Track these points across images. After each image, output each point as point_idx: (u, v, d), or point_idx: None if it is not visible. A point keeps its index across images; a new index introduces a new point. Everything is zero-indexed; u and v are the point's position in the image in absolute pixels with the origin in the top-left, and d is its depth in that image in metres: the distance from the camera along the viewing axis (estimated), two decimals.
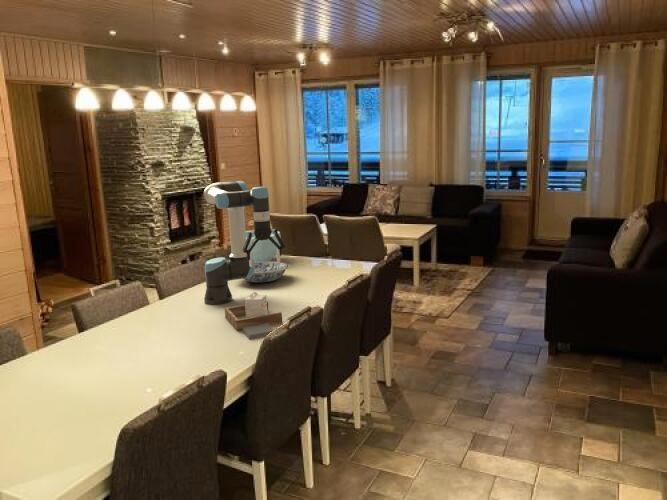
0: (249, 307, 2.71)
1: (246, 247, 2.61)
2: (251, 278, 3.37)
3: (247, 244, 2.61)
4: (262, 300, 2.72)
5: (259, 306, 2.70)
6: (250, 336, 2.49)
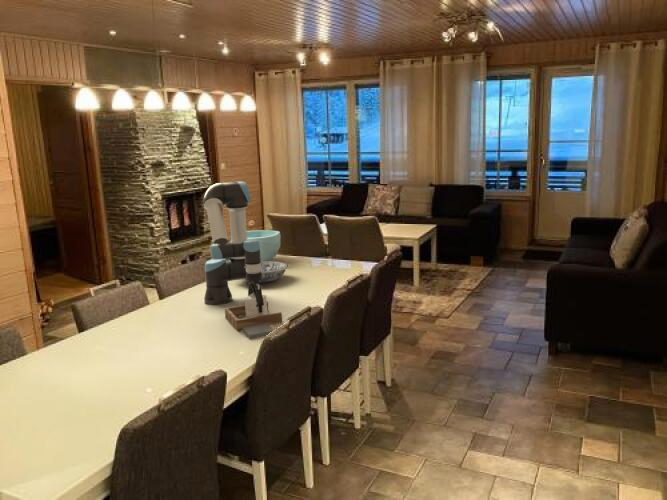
0: (249, 307, 2.71)
1: (248, 292, 2.81)
2: None
3: (248, 290, 2.80)
4: None
5: None
6: (250, 336, 2.49)
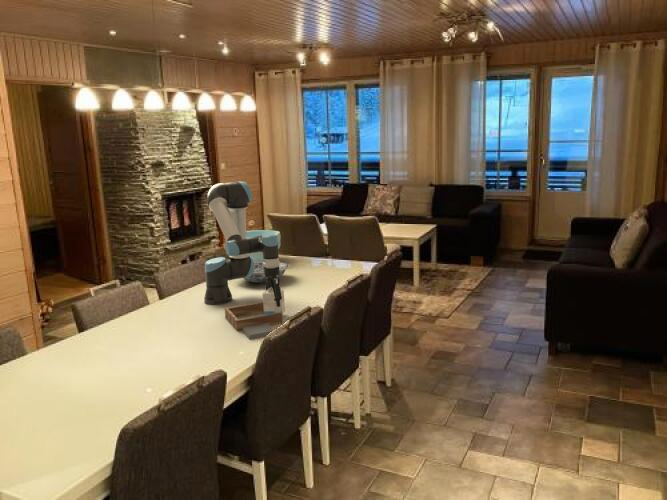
0: (267, 301, 2.74)
1: None
2: (251, 278, 3.37)
3: (266, 284, 2.83)
4: None
5: None
6: (250, 336, 2.49)
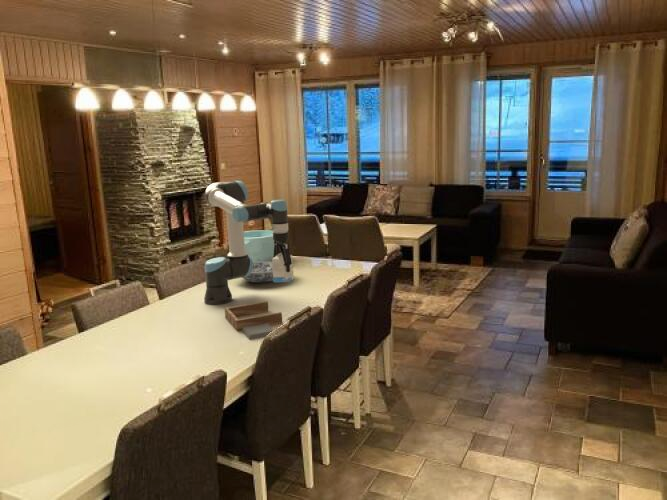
0: (277, 267, 2.73)
1: None
2: (251, 278, 3.37)
3: (274, 251, 2.82)
4: None
5: None
6: (250, 336, 2.49)
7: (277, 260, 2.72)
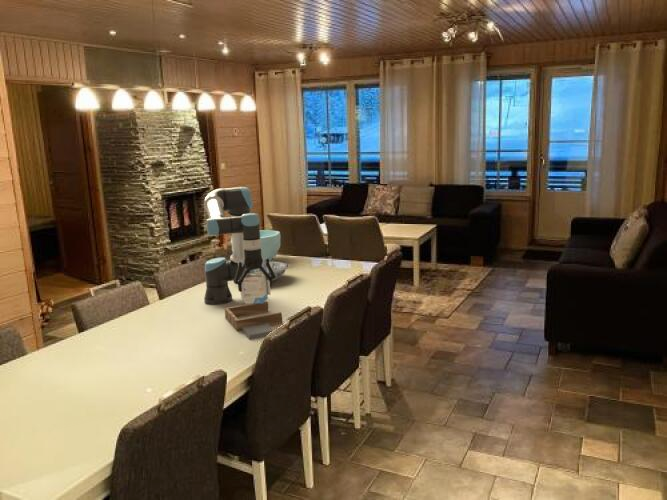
0: (263, 285, 2.50)
1: (237, 278, 2.47)
2: None
3: (238, 275, 2.47)
4: None
5: (266, 281, 2.55)
6: (250, 336, 2.49)
7: (262, 278, 2.50)
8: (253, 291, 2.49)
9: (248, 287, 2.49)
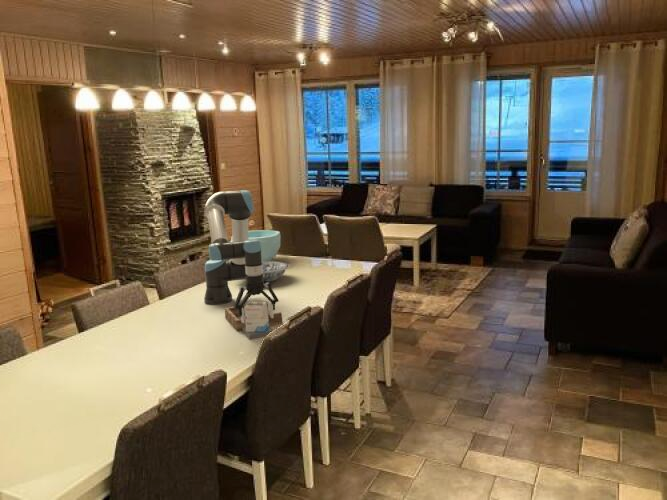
0: (264, 314, 2.53)
1: (238, 303, 2.49)
2: None
3: (239, 300, 2.50)
4: None
5: (267, 309, 2.57)
6: (250, 336, 2.49)
7: (263, 306, 2.52)
8: (255, 320, 2.52)
9: (250, 316, 2.52)
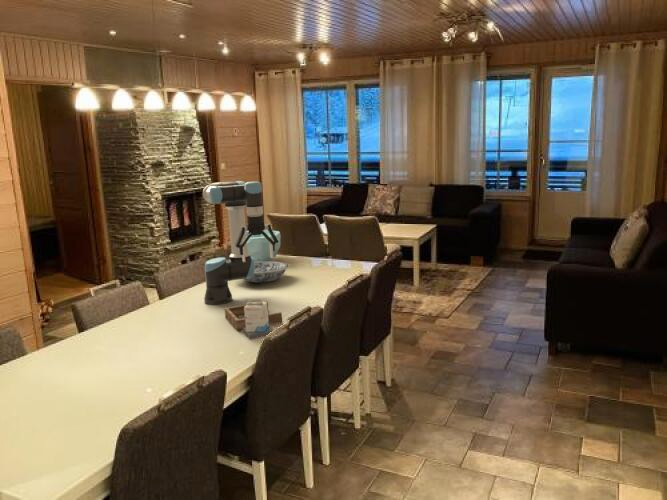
0: (264, 314, 2.53)
1: (239, 242, 2.61)
2: (251, 278, 3.37)
3: (240, 239, 2.61)
4: None
5: (267, 309, 2.57)
6: (250, 336, 2.49)
7: (263, 306, 2.52)
8: (255, 320, 2.52)
9: (250, 316, 2.52)
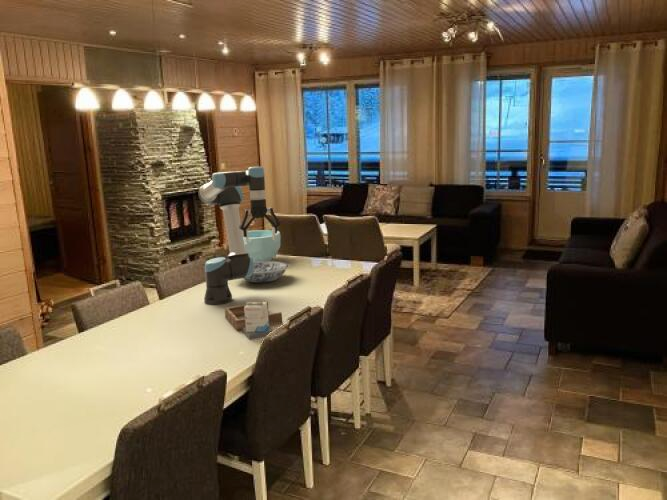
0: (264, 314, 2.53)
1: (243, 224, 2.72)
2: (251, 278, 3.37)
3: (244, 221, 2.72)
4: None
5: (267, 309, 2.57)
6: (250, 336, 2.49)
7: (263, 306, 2.52)
8: (255, 320, 2.52)
9: (250, 316, 2.52)
